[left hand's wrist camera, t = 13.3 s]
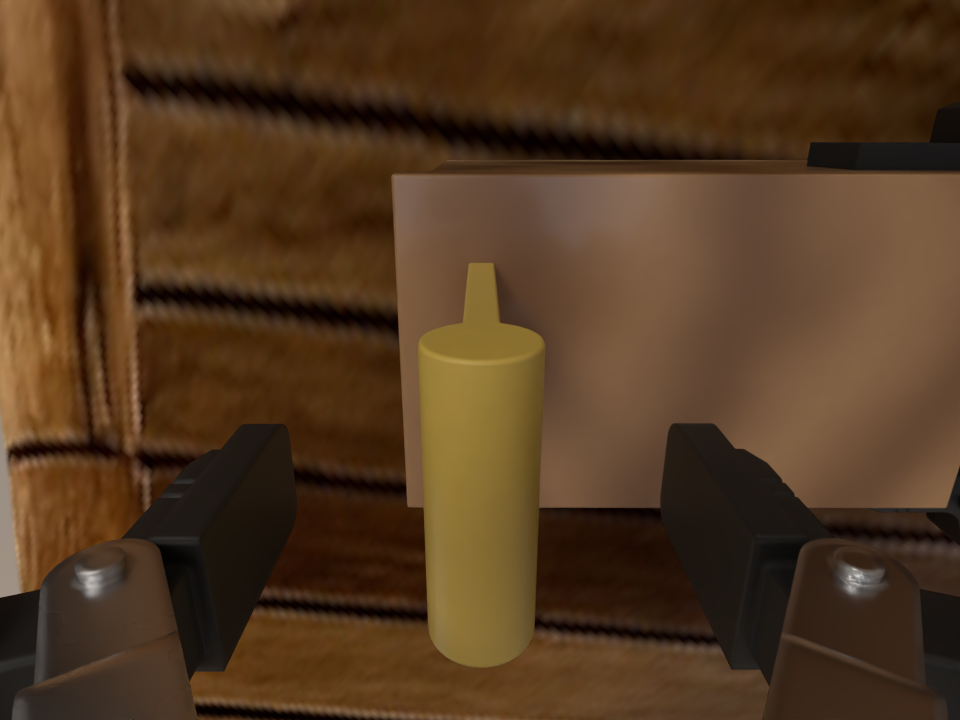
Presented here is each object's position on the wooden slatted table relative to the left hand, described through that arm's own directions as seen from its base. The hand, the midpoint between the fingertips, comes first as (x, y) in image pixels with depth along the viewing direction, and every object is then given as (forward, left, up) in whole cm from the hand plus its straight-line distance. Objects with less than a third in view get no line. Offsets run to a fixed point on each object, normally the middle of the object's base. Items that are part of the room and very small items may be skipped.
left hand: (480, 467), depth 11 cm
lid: (-1, +6, -7) cm, 9 cm away
